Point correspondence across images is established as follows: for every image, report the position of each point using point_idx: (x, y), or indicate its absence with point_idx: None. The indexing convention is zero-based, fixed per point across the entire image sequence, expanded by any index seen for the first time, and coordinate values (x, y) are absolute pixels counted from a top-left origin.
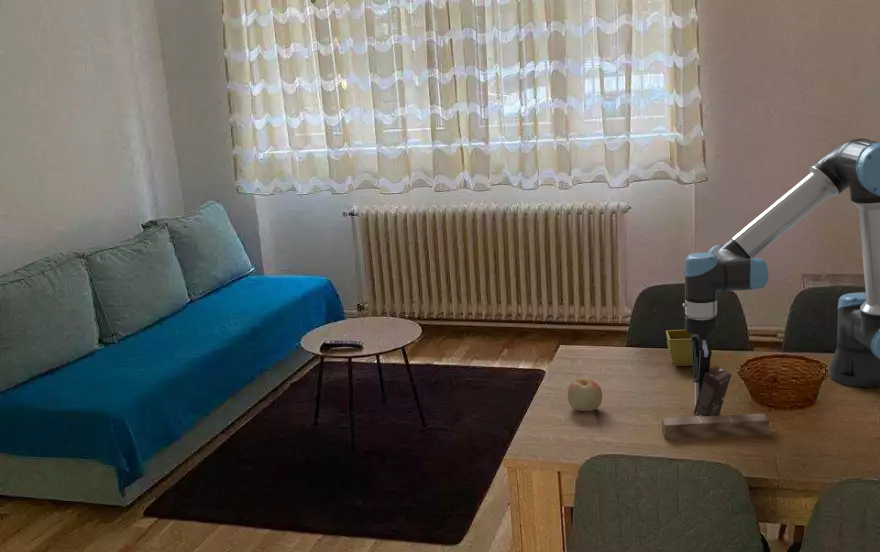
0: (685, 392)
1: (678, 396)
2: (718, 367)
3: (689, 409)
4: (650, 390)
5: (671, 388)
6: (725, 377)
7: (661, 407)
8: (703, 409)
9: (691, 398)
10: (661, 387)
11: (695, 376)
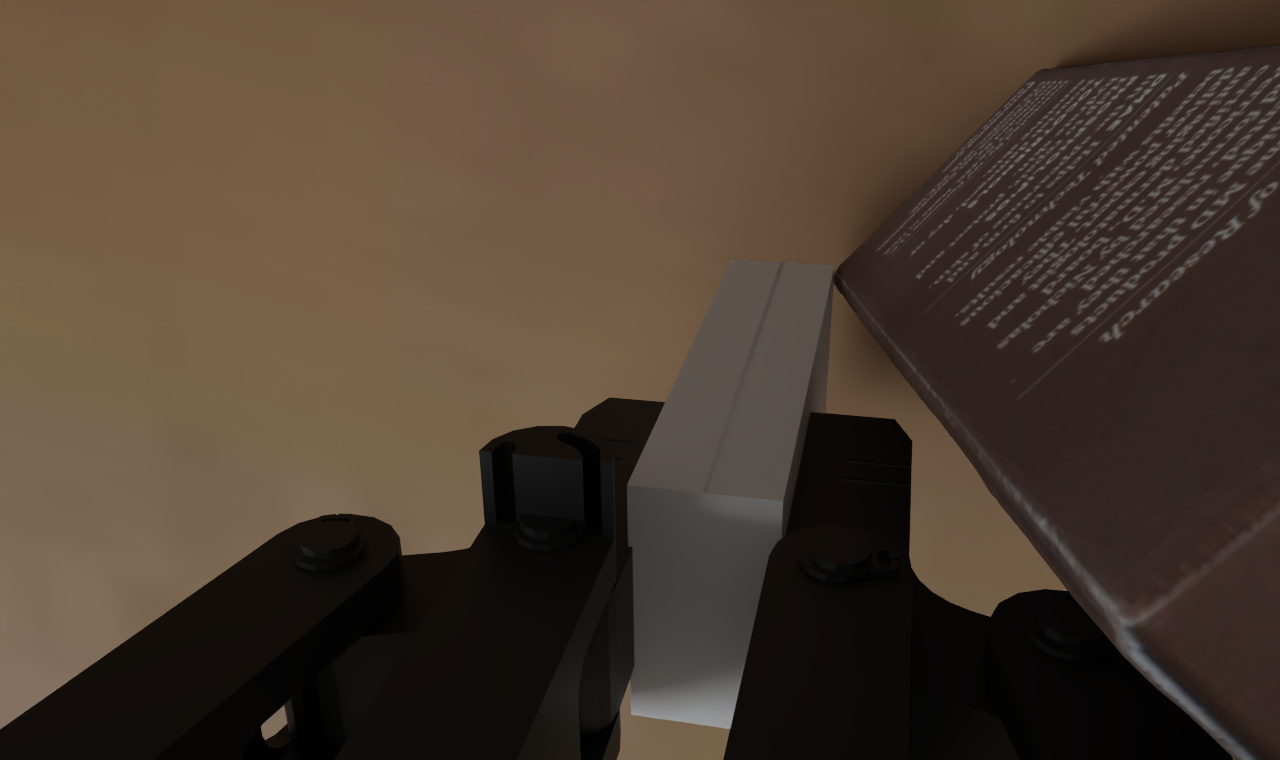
0: (139, 342)
1: (280, 465)
2: (1195, 604)
3: None
4: None
5: (28, 472)
6: None
7: (630, 744)
8: None
9: (345, 322)
10: (13, 570)
11: (612, 755)
